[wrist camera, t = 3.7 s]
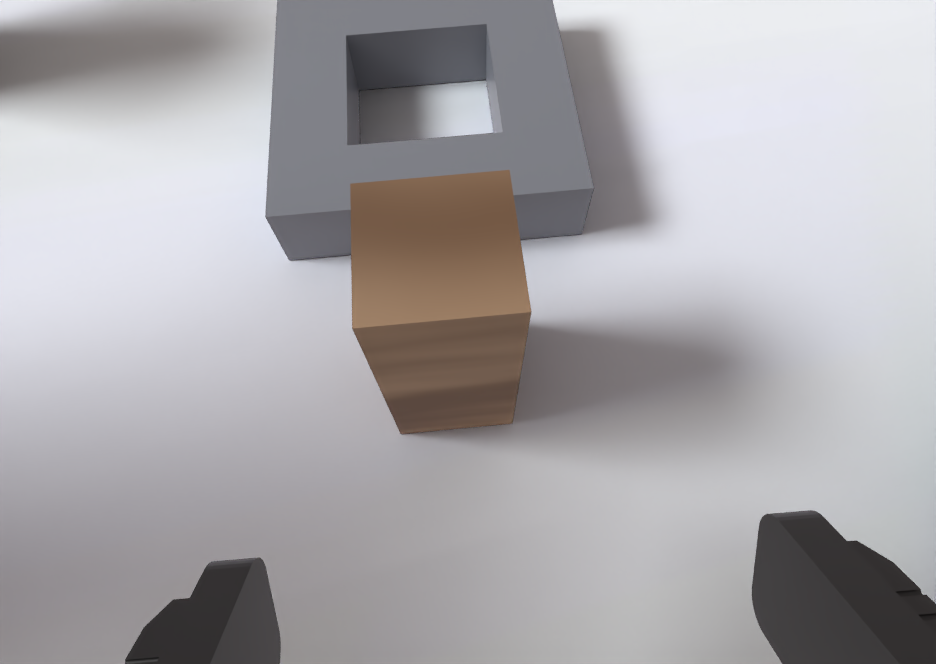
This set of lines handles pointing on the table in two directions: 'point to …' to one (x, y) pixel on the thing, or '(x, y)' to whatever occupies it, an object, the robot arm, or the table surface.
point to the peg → (440, 297)
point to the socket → (409, 64)
